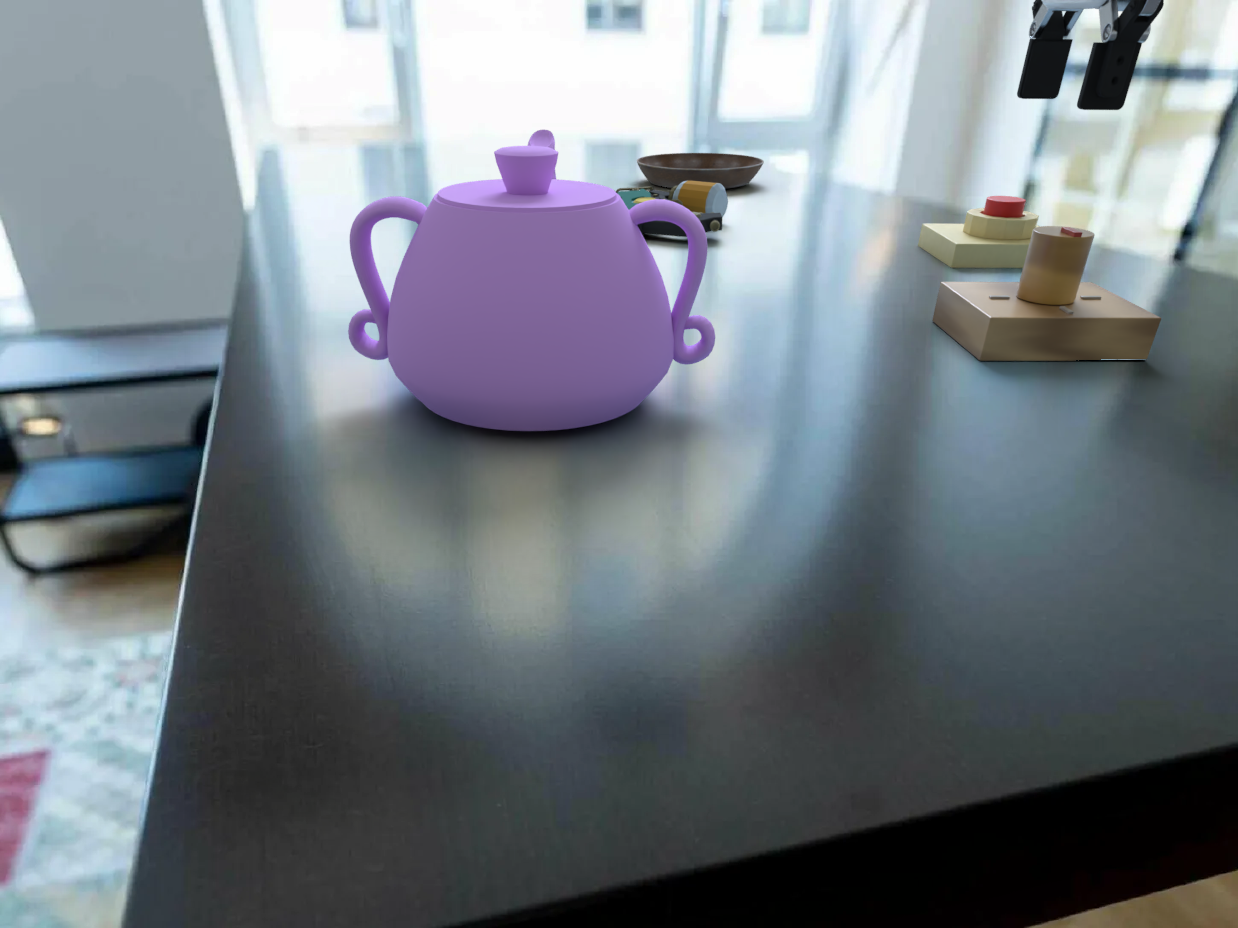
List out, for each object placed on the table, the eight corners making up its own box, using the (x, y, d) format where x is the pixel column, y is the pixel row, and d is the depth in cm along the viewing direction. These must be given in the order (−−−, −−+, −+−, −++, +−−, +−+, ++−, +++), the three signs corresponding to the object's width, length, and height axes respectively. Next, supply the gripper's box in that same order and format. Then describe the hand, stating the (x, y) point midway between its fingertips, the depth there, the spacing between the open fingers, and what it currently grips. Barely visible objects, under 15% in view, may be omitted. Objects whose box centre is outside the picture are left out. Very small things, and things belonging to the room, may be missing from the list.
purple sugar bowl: (691, 337, 67) (706, 124, 59) (725, 454, 49) (753, 173, 42) (395, 334, 67) (371, 120, 59) (323, 450, 49) (274, 167, 41)
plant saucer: (611, 184, 126) (611, 159, 124) (677, 170, 138) (678, 147, 136) (722, 198, 118) (724, 172, 116) (782, 182, 130) (785, 158, 128)
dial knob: (1006, 291, 68) (1024, 221, 65) (1058, 290, 68) (1078, 221, 65) (1030, 305, 64) (1050, 232, 62) (1085, 305, 65) (1107, 232, 62)
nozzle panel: (1080, 321, 72) (1092, 279, 70) (1146, 361, 64) (1163, 315, 62) (931, 321, 72) (940, 279, 70) (979, 361, 63) (991, 315, 62)
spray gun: (714, 254, 94) (577, 249, 97) (742, 215, 106) (620, 212, 110) (716, 210, 91) (574, 206, 95) (744, 175, 103) (619, 173, 107)
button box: (1029, 246, 95) (1040, 204, 93) (1073, 268, 87) (1087, 223, 85) (917, 245, 95) (925, 204, 93) (950, 268, 87) (961, 223, 84)
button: (1012, 214, 91) (1017, 195, 90) (1027, 221, 88) (1032, 202, 87) (976, 214, 90) (981, 195, 89) (990, 221, 87) (995, 201, 86)
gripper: (1292, -228, 52) (1180, 115, 62) (1130, -177, 66) (1059, 95, 76) (1166, -231, 52) (1073, 114, 61) (1030, -180, 66) (972, 94, 76)
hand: (1065, 103), depth 69 cm, fingers open, 9 cm apart
